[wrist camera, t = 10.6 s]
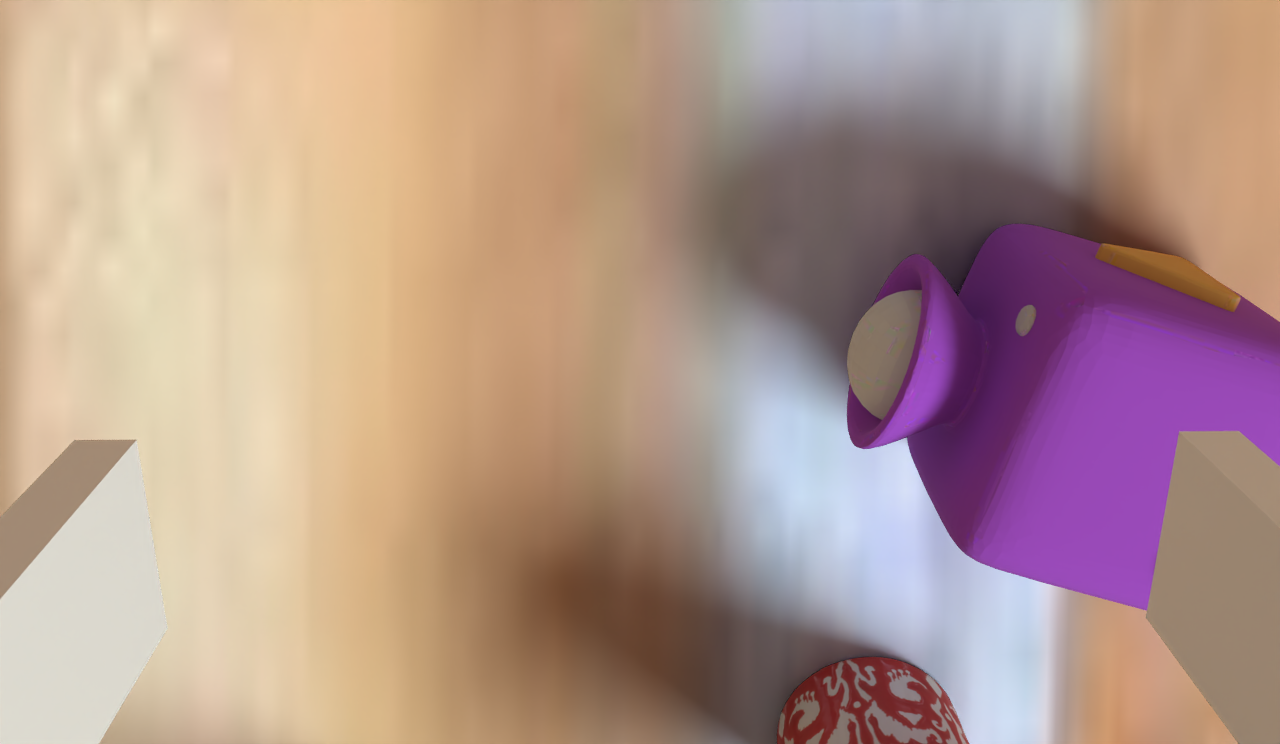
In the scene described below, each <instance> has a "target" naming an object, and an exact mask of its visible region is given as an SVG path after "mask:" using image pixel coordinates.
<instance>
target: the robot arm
mask: <svg viewBox="0 0 1280 744" xmlns="http://www.w3.org/2000/svg"><path fill="white" fill-rule="evenodd" d="M1146 618H1147V620H1148V621H1149V622H1150V624H1151V625H1152V626H1153V628H1154V629H1155V631H1156V632H1157V633H1158V635H1159V636H1160V637H1161V639H1162V640H1163V641H1164V643H1165V644H1166V645H1167V647H1168V648H1169V650H1170V651H1171V652H1172V654H1173V655H1174V656H1175V658H1176V659H1177V660H1178V662H1179V663H1180V665H1181V666H1182V667H1183V669H1184V670H1185V671H1186V673H1187V674H1188V675H1189V677H1190V678H1191V680H1192V681H1193V682H1194V684H1195V685H1196V686H1197V688H1198V689H1199V690H1200V692H1201V693H1202V695H1203V696H1204V697H1205V699H1206V700H1207V701H1208V703H1209V704H1210V705H1211V707H1212V708H1213V710H1214V711H1215V712H1216V714H1217V715H1218V716H1219V718H1220V719H1221V720H1222V722H1223V723H1224V725H1225V726H1226V727H1227V729H1228V730H1229V731H1230V733H1231V734H1232V735H1233V737H1234V738H1235V740H1236V741H1237V742H1238V744H1280V466H1279V465H1278V464H1276V463H1275V462H1274V461H1273V460H1272V459H1271V458H1269V457H1268V456H1267V455H1266V454H1265V453H1264V452H1263V451H1261V450H1260V449H1259V448H1258V447H1257V446H1256V445H1254V444H1253V443H1252V442H1251V441H1250V440H1249V439H1248V438H1246V437H1245V436H1244V435H1243V434H1242V433H1241V432H1239V431H1179V435H1178V441H1177V446H1176V452H1175V457H1174V463H1173V469H1172V474H1171V480H1170V485H1169V491H1168V496H1167V502H1166V508H1165V513H1164V519H1163V524H1162V530H1161V536H1160V541H1159V547H1158V552H1157V558H1156V563H1155V569H1154V575H1153V580H1152V586H1151V591H1150V597H1149V602H1148V608H1147V614H1146ZM166 630H167V622H166V616H165V610H164V604H163V598H162V592H161V586H160V580H159V574H158V567H157V561H156V555H155V549H154V543H153V537H152V531H151V525H150V519H149V513H148V507H147V500H146V494H145V488H144V482H143V476H142V470H141V464H140V458H139V452H138V446H137V440H74V441H73V442H72V443H71V444H70V445H69V446H68V448H67V449H66V450H65V451H64V452H63V453H62V454H61V455H60V456H59V457H58V458H57V459H56V460H55V461H54V462H53V463H52V464H51V465H50V466H49V467H48V468H47V469H46V470H45V471H44V472H43V473H42V474H41V475H40V477H39V478H38V479H37V480H36V481H35V482H34V483H33V484H32V485H31V486H30V487H29V488H28V489H27V490H26V491H25V492H24V493H23V494H22V495H21V496H20V497H19V498H18V499H17V500H16V501H15V502H14V503H13V504H12V505H11V507H10V508H9V509H8V510H7V511H6V512H5V513H4V514H3V515H2V516H1V517H0V744H99V743H100V741H101V739H102V738H103V736H104V734H105V733H106V731H107V729H108V728H109V726H110V724H111V723H112V721H113V719H114V717H115V716H116V714H117V712H118V711H119V709H120V707H121V706H122V704H123V702H124V701H125V699H126V697H127V696H128V694H129V692H130V691H131V689H132V687H133V686H134V684H135V682H136V681H137V679H138V677H139V675H140V674H141V672H142V670H143V669H144V667H145V665H146V664H147V662H148V660H149V659H150V657H151V655H152V654H153V652H154V650H155V649H156V647H157V645H158V644H159V642H160V640H161V639H162V637H163V635H164V634H165V632H166Z"/></svg>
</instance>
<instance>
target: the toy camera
mask: <svg viewBox="0 0 1280 744" xmlns="http://www.w3.org/2000/svg"><path fill="white" fill-rule="evenodd" d="M847 368H848V376H849V381H850V385H849V392H848V402H847V425H848V432H849V435H850V438H851V441H852V443H853V444H854V445H855V446H856V447H859V448H862V449H870V448H875V447H879V446H883V445H886V444H889V443H892V442H895V441H898V440H901V439H903V438H906V437H907V441H908V446H909V450H910V453H911V456H912V458H913V461H914V463H915V466H916V468H917V470H918V473H919V475H920V477H921V480H922V482H923V484H924V486H925V488H926V491H927V493H928V495H929V497H930V499H931V501H932V503H933V505H934V507H935V509H936V511H937V513H938V514H939V516H940V518H941V520H942V522H943V524H944V526H945V528H946V529H947V531H948V533H949V535H950V536H951V538H952V539H953V541H954V542H955V543H956V545H957V546H958V547H959V548H960V550H962V551H963V552H964V553H965V554H966V555H968V556H969V557H971V558H973V559H974V560H976V561H978V562H980V563H982V564H985V565H988V566H990V567H993V568H995V569H998V570H1002V571H1005V572H1009V573H1012V574H1016V575H1019V576H1023V577H1026V578H1029V579H1033V580H1036V581H1040V582H1043V583H1047V584H1051V585H1054V586H1058V587H1062V588H1065V589H1069V590H1073V591H1076V592H1080V593H1084V594H1088V595H1091V596H1095V597H1099V598H1102V599H1106V600H1110V601H1113V602H1117V603H1121V604H1125V605H1128V606H1132V607H1136V608H1139V609H1143V610H1147V608H1148V602H1149V597H1150V591H1151V586H1152V580H1153V575H1154V569H1155V563H1156V558H1157V552H1158V547H1159V541H1160V536H1161V530H1162V524H1163V519H1164V513H1165V508H1166V502H1167V496H1168V491H1169V485H1170V480H1171V474H1172V469H1173V463H1174V457H1175V452H1176V446H1177V441H1178V435H1179V431H1239V432H1241V433H1242V434H1243V435H1244V436H1245V437H1246V438H1248V439H1249V440H1250V441H1251V442H1252V443H1253V444H1254V445H1256V446H1257V447H1258V448H1259V449H1260V450H1261V451H1263V452H1264V453H1265V454H1266V455H1267V456H1268V457H1269V458H1271V459H1272V460H1273V461H1274V462H1275V463H1276V464H1278V465H1279V466H1280V322H1279V321H1277V320H1276V319H1274V318H1273V317H1272V316H1270V315H1269V314H1267V313H1266V312H1264V311H1263V310H1261V309H1260V308H1258V307H1257V306H1255V305H1254V304H1252V303H1251V302H1249V301H1248V300H1247V299H1245V298H1244V297H1242V296H1241V295H1239V294H1238V293H1236V292H1234V291H1233V290H1231V289H1230V288H1228V287H1226V286H1225V285H1223V284H1221V283H1220V282H1219V281H1217V280H1216V279H1214V278H1213V277H1211V276H1210V275H1208V274H1207V273H1205V272H1204V271H1202V270H1201V269H1200V268H1198V267H1197V266H1195V265H1194V264H1192V263H1191V262H1189V261H1188V260H1186V259H1184V258H1181V257H1178V256H1174V255H1168V254H1163V253H1158V252H1152V251H1146V250H1141V249H1135V248H1129V247H1123V246H1118V245H1112V244H1106V243H1103V244H1100V243H1096V242H1093V241H1090V240H1086V239H1083V238H1080V237H1076V236H1073V235H1069V234H1066V233H1062V232H1059V231H1055V230H1052V229H1048V228H1044V227H1039V226H1035V225H1028V224H1009V225H1005V226H1002V227H999V228H998V229H996V230H995V231H994V232H993V233H992V234H991V235H990V236H989V237H988V238H987V239H986V241H985V242H984V244H983V245H982V247H981V249H980V251H979V253H978V254H977V256H976V258H975V260H974V263H973V265H972V267H971V269H970V271H969V273H968V275H967V277H966V279H965V282H964V284H963V286H962V289H961V291H960V293H959V295H958V296H957V295H956V293H955V292H954V290H953V289H952V287H951V286H950V284H949V283H948V282H947V280H946V279H945V278H944V277H943V275H942V274H941V273H940V271H939V270H938V269H937V268H936V267H935V266H934V265H933V264H932V263H931V261H930V260H929V259H927V258H926V257H924V256H923V255H919V254H914V255H911V256H909V257H907V258H906V259H905V260H903V261H902V262H901V263H900V264H899V265H898V266H897V267H896V268H895V269H894V271H893V272H892V273H891V275H890V276H889V277H888V279H887V280H886V282H885V283H884V285H883V287H882V289H881V290H880V292H879V294H878V296H877V298H876V300H875V302H874V304H873V306H872V307H871V308H870V309H869V310H868V311H867V312H866V313H865V314H864V316H863V317H862V318H861V320H860V321H859V323H858V325H857V327H856V329H855V331H854V333H853V335H852V339H851V342H850V345H849V349H848V357H847Z"/></svg>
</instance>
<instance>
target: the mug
mask: <svg viewBox="0 0 1280 744" xmlns="http://www.w3.org/2000/svg"><path fill="white" fill-rule="evenodd" d="M777 744H969V742H968V740H967V738H966V736H965V733H964V731H963V728H962V726H961V724H960V721H959V719H958V716H957V714H956V711H955V709H954V707H953V705H952V703H951V701H950V699H949V697H948V696H947V694H946V692H945V691H944V690H943V689H942V687H941V686H940V685H939V684H938V683H937V682H936V681H935V680H934V679H933V678H932V677H930V676H929V675H927V674H926V673H925V672H923V671H922V670H920V669H918V668H916V667H914V666H912V665H910V664H907V663H905V662H902V661H899V660H895V659H890V658H882V657H861V658H854V659H848V660H844V661H841V662H837V663H834V664H832V665H829V666H827V667H825V668H822V669H821V670H819V671H818V672H816V673H815V674H813V675H811V676H810V677H809V678H808V679H806V680H805V681H804V682H803V683H802V684H800V685H799V686H798V687H797V689H796V690H795V691H794V692H793V693H792V695H791V696H790V698H789V699H788V701H787V702H786V704H785V706H784V708H783V710H782V712H781V715H780V719H779V723H778V730H777Z"/></svg>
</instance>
